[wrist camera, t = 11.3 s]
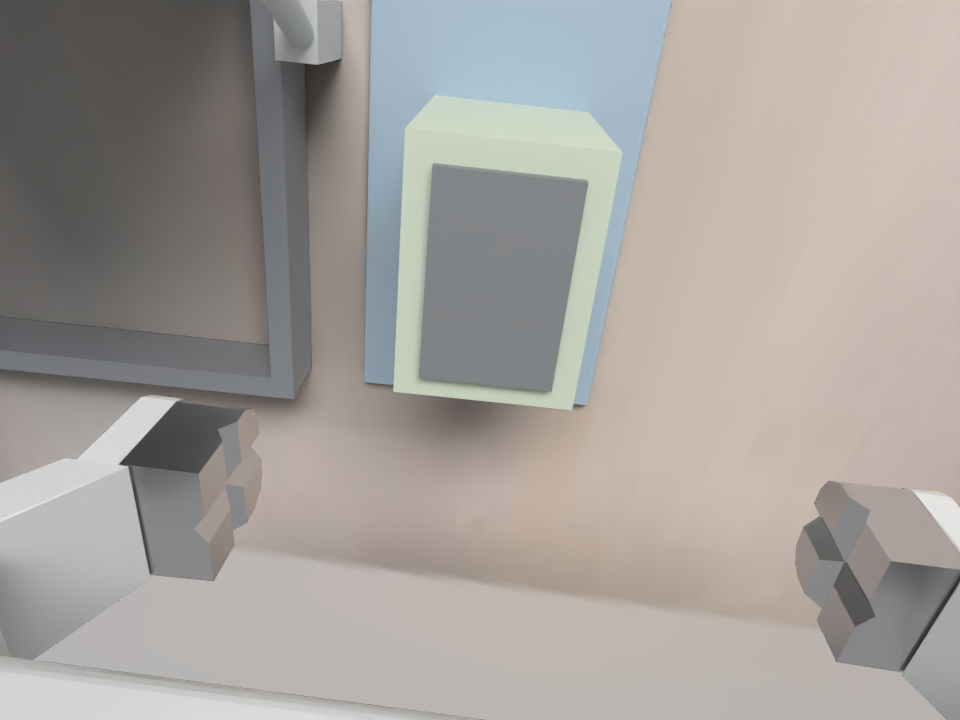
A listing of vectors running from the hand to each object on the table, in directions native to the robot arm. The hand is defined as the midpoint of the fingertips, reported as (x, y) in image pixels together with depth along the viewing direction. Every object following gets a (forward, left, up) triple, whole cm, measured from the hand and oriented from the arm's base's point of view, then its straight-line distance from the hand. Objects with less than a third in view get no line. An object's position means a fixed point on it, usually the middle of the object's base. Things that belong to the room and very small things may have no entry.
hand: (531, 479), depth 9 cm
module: (+1, 0, -15) cm, 15 cm away
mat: (+1, 0, -15) cm, 15 cm away
